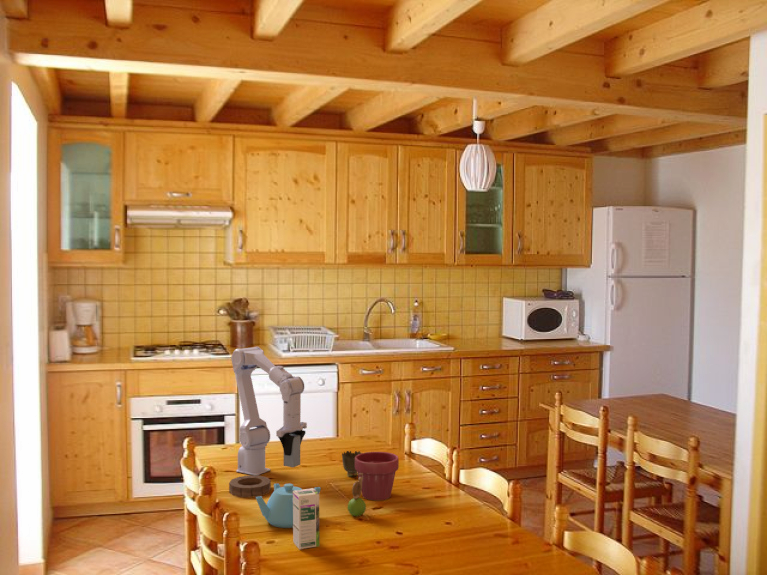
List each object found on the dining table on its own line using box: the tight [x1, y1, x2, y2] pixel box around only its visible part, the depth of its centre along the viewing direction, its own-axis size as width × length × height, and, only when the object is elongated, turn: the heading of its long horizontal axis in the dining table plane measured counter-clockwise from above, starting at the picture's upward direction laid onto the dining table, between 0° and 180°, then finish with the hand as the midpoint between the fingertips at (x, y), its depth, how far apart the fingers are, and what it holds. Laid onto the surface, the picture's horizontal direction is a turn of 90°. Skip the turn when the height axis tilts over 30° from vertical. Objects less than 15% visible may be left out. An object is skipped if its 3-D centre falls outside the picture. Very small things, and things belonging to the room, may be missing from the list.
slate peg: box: [283, 434, 301, 468], centre depth 254 cm, size 4×4×10 cm
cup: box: [341, 450, 362, 478], centre depth 264 cm, size 8×7×8 cm
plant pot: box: [355, 451, 400, 501], centre depth 242 cm, size 14×14×13 cm
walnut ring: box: [228, 475, 272, 498], centre depth 247 cm, size 13×13×3 cm
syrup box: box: [292, 487, 320, 550], centre depth 202 cm, size 6×6×14 cm
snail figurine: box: [347, 473, 367, 517], centre depth 225 cm, size 5×6×12 cm
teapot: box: [255, 483, 321, 529], centre depth 220 cm, size 15×15×11 cm
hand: (291, 453), depth 254 cm, fingers closed on slate peg, 4 cm apart
